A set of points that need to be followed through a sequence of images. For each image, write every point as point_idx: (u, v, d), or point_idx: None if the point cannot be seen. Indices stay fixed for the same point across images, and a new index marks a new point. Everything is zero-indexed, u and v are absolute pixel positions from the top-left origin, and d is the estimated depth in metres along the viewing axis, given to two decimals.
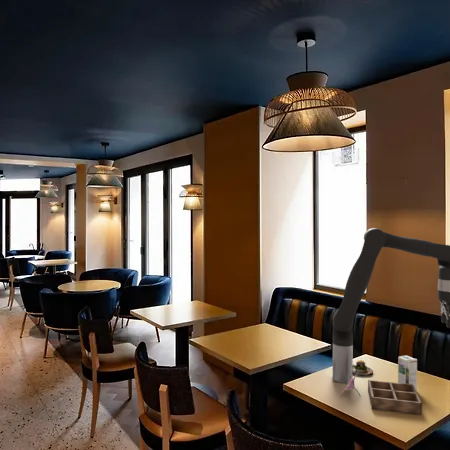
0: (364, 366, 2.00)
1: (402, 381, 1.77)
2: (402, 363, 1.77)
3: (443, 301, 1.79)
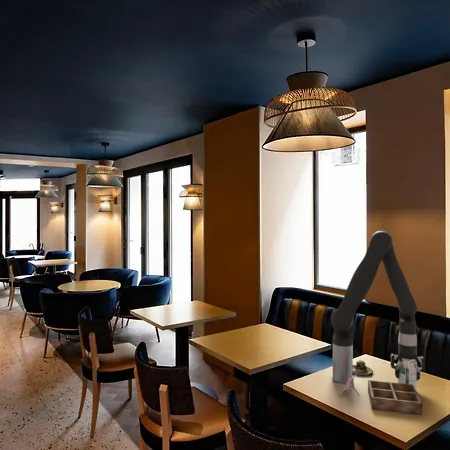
0: (364, 366, 2.00)
1: (402, 381, 1.77)
2: None
3: (404, 356, 1.77)
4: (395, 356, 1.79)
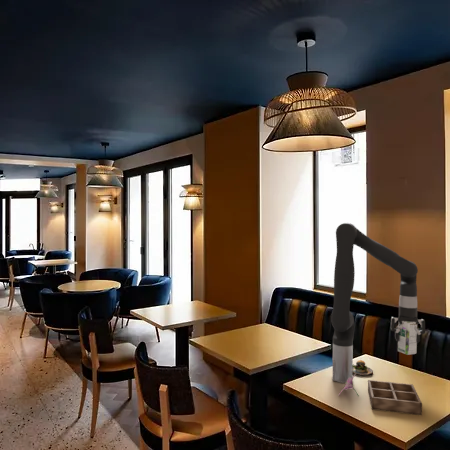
0: (364, 366, 2.00)
1: (402, 344, 1.77)
2: None
3: (404, 318, 1.77)
4: (395, 319, 1.79)
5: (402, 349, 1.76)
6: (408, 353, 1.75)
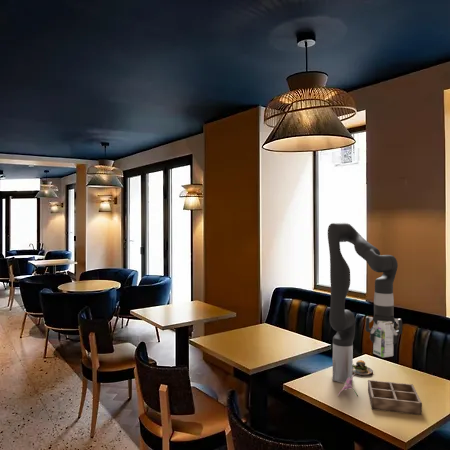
0: (364, 366, 2.00)
1: (377, 345, 1.61)
2: None
3: (380, 317, 1.62)
4: (370, 318, 1.63)
5: (378, 351, 1.61)
6: (384, 356, 1.59)
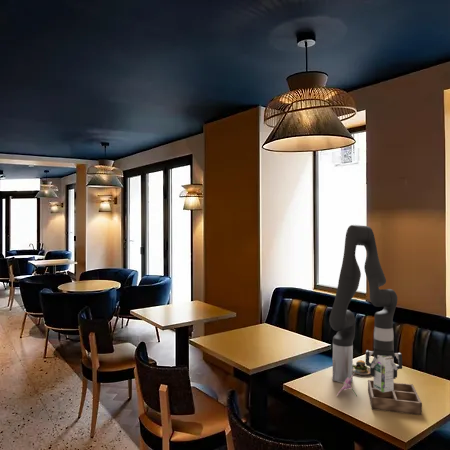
0: (364, 366, 2.00)
1: (377, 380, 1.62)
2: None
3: (380, 352, 1.62)
4: (370, 352, 1.63)
5: (378, 385, 1.61)
6: (384, 391, 1.59)
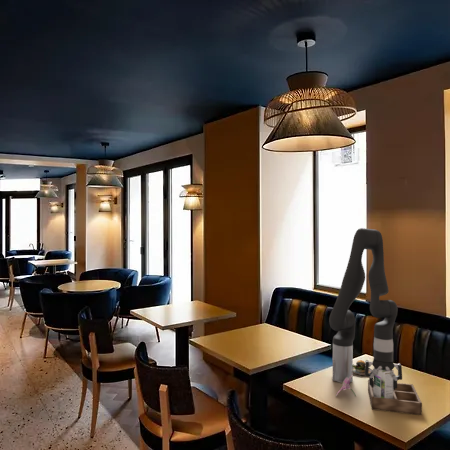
0: (364, 366, 2.00)
1: (377, 394, 1.62)
2: (377, 375, 1.62)
3: (379, 363, 1.62)
4: (370, 363, 1.63)
5: None
6: None
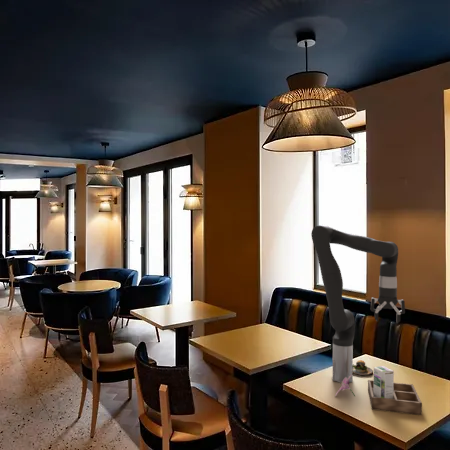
0: (364, 366, 2.00)
1: (377, 394, 1.62)
2: (377, 375, 1.62)
3: (384, 299, 1.77)
4: (375, 299, 1.79)
5: None
6: None
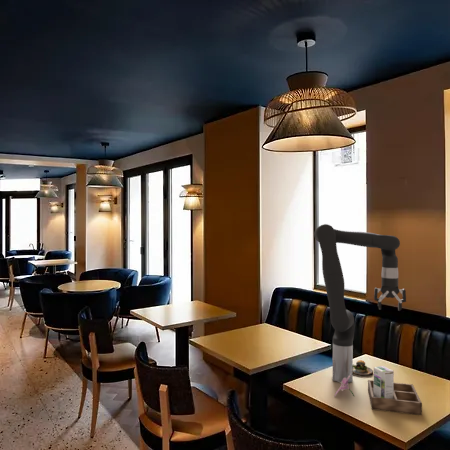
0: (364, 366, 2.00)
1: (377, 394, 1.62)
2: (377, 375, 1.62)
3: (386, 288, 1.90)
4: (378, 289, 1.92)
5: None
6: None
